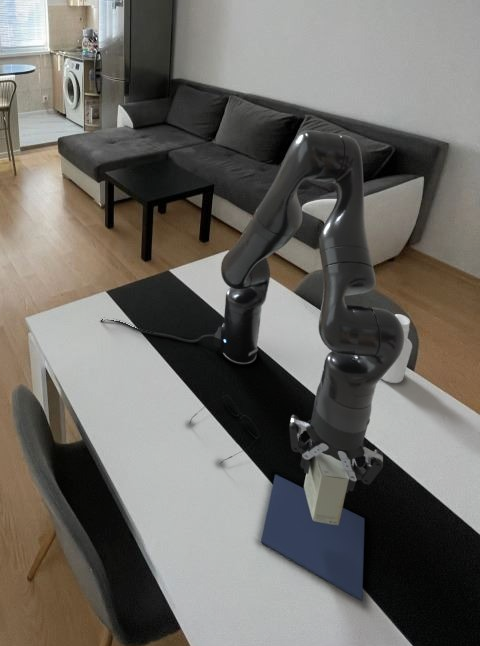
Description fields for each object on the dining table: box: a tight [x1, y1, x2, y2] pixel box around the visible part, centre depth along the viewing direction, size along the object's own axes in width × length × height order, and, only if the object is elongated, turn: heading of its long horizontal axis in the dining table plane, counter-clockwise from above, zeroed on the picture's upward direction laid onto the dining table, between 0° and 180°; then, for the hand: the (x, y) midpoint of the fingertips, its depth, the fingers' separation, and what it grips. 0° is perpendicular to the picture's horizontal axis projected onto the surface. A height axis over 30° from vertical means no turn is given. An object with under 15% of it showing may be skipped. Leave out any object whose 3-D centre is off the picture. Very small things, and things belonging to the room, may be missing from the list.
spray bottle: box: [380, 313, 413, 384], centre depth 109 cm, size 7×7×18 cm
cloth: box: [260, 474, 366, 602], centre depth 81 cm, size 16×14×1 cm
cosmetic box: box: [303, 453, 349, 525], centre depth 76 cm, size 6×4×12 cm
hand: (325, 477), depth 75 cm, fingers closed on cosmetic box, 5 cm apart
